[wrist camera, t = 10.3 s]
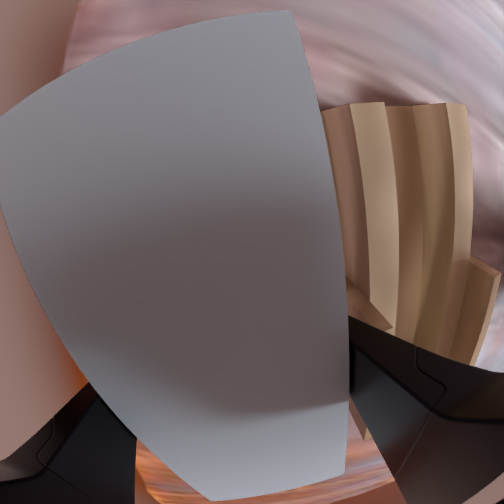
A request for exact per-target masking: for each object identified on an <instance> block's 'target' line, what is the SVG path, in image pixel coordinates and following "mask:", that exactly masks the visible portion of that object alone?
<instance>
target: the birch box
mask: <svg viewBox="0 0 504 504" xmlns="http://www.w3.org/2000/svg"><path fill="white" fill-rule="evenodd" d="M320 114H321V118H322V123H323V127H324V132H325V137H326V142H327V147H328V152H329V158H330V163H331V169H332V175H333V181H334V187H335V193H336V200H337V207H338V214H339V222H340V230H341V238H342V247H343V257H344V268H345V279H346V293H347V309H348V315H350V316H352V317H354V318H356V319H358V320H361V321H363V322H365V323H367V324H369V325H372V326H374V327H376V328H378V329H380V330H383V331H385V332H387V333H389V334H392V335H394V336H396V337H398V338H401V339H403V340H405V341H407V342H409V343H412V344H414V345H416V347H417V346H419V347H421V348H423V349H426V350H428V351H430V352H433V353H435V354H438V355H440V356H443V357H446V358H449V359H452V360H455V361H458V362H461V363H464V364H468V365H471V366H474V365H475V363H476V360H477V357H478V355H479V352H480V349H481V347H482V344H483V341H484V338H485V335H486V332H487V329H488V326H489V322H490V319H491V316H492V312H493V308H494V305H495V301H496V297H497V292H498V288H499V284H500V279H501V274H502V273H500V272H499V271H497V270H496V269H494V268H492V267H491V266H489V265H487V264H486V263H484V262H482V261H481V260H479V259H477V258H475V257H474V256H472V255H470V248H471V237H472V222H473V167H472V152H471V141H470V132H469V124H468V117H467V111H466V105H464V104H453V103H439V104H426V105H415V106H385V104H384V102H371V103H353V104H347V105H343V106H339V107H335V108H332V109H328V110H325V111H320ZM349 410H350V413H351V415H352V417H353V419H354V421H355V423H356V425H357V427H358V429H359V431H360V434H361V436H362V438H363V440H364V441H365V440H367V439H370V438H372V436H371V434H370V432H369V430H368V428H367V426H366V425H365V423H364V421H363V419H362V417H361V415H360V414H359V412H358V410H357V408H356V406H355V404H354V403H353V401H352V399H351V397H350V395H349Z"/></svg>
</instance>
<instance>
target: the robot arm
mask: <svg viewBox="0 0 504 504" xmlns="http://www.w3.org/2000/svg"><path fill="white" fill-rule="evenodd" d="M348 330H349V395H350V397H351V399H352V401H353V403H354V404H355V406H356V408H357V410H358V412H359V414H360V415H361V417H362V419H363V421H364V423H365V425H366V426H367V428H368V430H369V432H370V434H371V436H372V438H373V439H374V441H375V443H376V445H377V447H378V449H379V451H380V453H381V454H382V456H383V458H384V460H385V462H386V464H387V466H388V468H389V469H390V471H391V473H392V475H393V477H394V478H395V481H396V483H397V485H398V487H399V489H400V491H401V493H402V494H403V496H404V498H405V500H406V502H407V504H504V373H499V372H492V371H488V370H485V369H481V368H478V367H474V366H471V365H468V364H464V363H461V362H458V361H455V360H452V359H449V358H446V357H443V356H440V355H438V354H435V353H433V352H430V351H428V350H426V349H423V348H421V347H419V346H417V347H416V345H414V344H412V343H409V342H407V341H405V340H403V339H401V338H398V337H396V336H394V335H392V334H389V333H387V332H385V331H383V330H380V329H378V328H376V327H374V326H372V325H369V324H367V323H365V322H363V321H361V320H358V319H356V318H354V317H352V316H350V315H348ZM136 443H137V437H136V436H135V435H134V434H133V433H132V432H131V431H130V430H129V429H128V428H127V427H126V426H125V424H124V423H123V422H122V421H121V420H120V419H119V418H118V417H117V416H116V414H115V413H114V412H113V411H112V410H111V409H110V407H109V406H108V405H107V404H106V403H105V401H104V400H103V399H102V398H101V396H100V395H99V394H98V393H97V391H96V390H95V389H94V388H93V386H92V385H91V384H90V382H88V383H87V384H86V385H85V386H84V387H83V388H82V389H81V390H80V391H79V392H78V393H77V394H76V395H75V396H74V397H73V398H72V399H71V400H70V401H69V402H68V403H67V404H66V405H65V406H64V407H63V408H62V409H61V410H60V411H59V412H58V413H57V414H55V415H54V417H53V418H51V419H50V420H49V421H48V422H47V423H46V424H45V425H44V426H43V427H42V428H41V429H40V430H39V431H38V432H37V433H36V434H35V435H33V436H32V437H31V438H30V439H29V440H28V441H27V442H25V443H24V444H23V445H22V446H21V447H19V448H18V449H17V450H16V451H15V452H13V454H11V455H10V456H9V457H7V458H6V459H4V460H1V461H0V504H135V495H134V494H135V460H136Z"/></svg>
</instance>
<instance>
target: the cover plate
mask: <svg viewBox="0 0 504 504" xmlns="http://www.w3.org/2000/svg"><path fill="white" fill-rule="evenodd" d="M0 206H1V209H2V213H3V216H4V219H5V222H6V225H7V228H8V231H9V234H10V237H11V239H12V242H13V245H14V247H15V250H16V253H17V255H18V257H19V259H20V262H21V265H22V267H23V269H24V272H25V274H26V276H27V278H28V280H29V282H30V285H31V287H32V289H33V291H34V293H35V295H36V297H37V299H38V301H39V303H40V305H41V307H42V309H43V310H44V312H45V314H46V316H47V318H48V319H49V321H50V323H51V325H52V326H53V328H54V330H55V332H56V333H57V335H58V336H59V338H60V340H61V341H62V343H63V345H64V346H65V348H66V349H67V351H68V352H69V354H70V355H71V357H72V358H73V360H74V361H75V363H76V364H77V366H78V367H79V368H80V370H81V371H82V373H83V374H84V376H85V377H86V378H87V380H88V381H89V382H90V384H91V385H92V386H93V388H94V389H95V390H96V391H97V393H98V394H99V395H100V396H101V398H102V399H103V400H104V401H105V403H106V404H107V405H108V406H109V407H110V409H111V410H112V411H113V412H114V413H115V414H116V416H117V417H118V418H119V419H120V420H121V421H122V422H123V423H124V424H125V426H126V427H127V428H128V429H129V430H130V431H131V432H132V433H133V434H134V435H135V436H136V437H137V438H138V439H139V440H140V441H141V442H142V443H143V444H144V445H145V446H146V447H147V448H148V449H149V450H150V451H151V452H152V453H153V454H154V455H155V456H156V457H157V458H158V459H160V460H161V461H162V462H163V463H164V464H165V465H166V466H167V467H168V468H170V469H171V470H172V471H173V472H174V473H175V474H177V475H178V476H179V477H180V478H181V479H183V480H184V481H185V482H186V483H188V484H189V485H190V486H191V487H193V488H194V489H195V490H197V491H198V492H199V493H201V494H202V495H203V496H205V497H206V498H207V499H209V500H210V501H222V500H231V499H240V498H247V497H254V496H260V495H266V494H271V493H276V492H281V491H286V490H290V489H294V488H298V487H302V486H306V485H310V484H313V483H317V482H320V481H324V480H327V479H330V478H333V477H336V476H339V475H342V474H344V470H345V459H346V447H347V432H348V412H349V330H348V309H347V293H346V279H345V268H344V257H343V247H342V238H341V230H340V222H339V214H338V207H337V200H336V193H335V187H334V181H333V175H332V169H331V163H330V158H329V152H328V147H327V142H326V137H325V132H324V127H323V123H322V118H321V114H320V109H319V105H318V101H317V97H316V92H315V88H314V85H313V81H312V77H311V73H310V69H309V66H308V62H307V59H306V55H305V52H304V48H303V45H302V42H301V38H300V35H299V32H298V29H297V26H296V23H295V20H294V17H293V14H292V11H291V10H279V11H266V12H257V13H248V14H241V15H234V16H228V17H223V18H217V19H212V20H207V21H203V22H198V23H194V24H190V25H186V26H182V27H178V28H175V29H171V30H168V31H164V32H161V33H158V34H155V35H152V36H149V37H146V38H143V39H140V40H137V41H135V42H132V43H129V44H127V45H124V46H122V47H119V48H117V49H114V50H112V51H110V52H107V53H105V54H103V55H101V56H99V57H96V58H94V59H92V60H90V61H88V62H86V63H84V64H82V65H80V66H78V67H76V68H74V69H72V70H71V71H69V72H67V73H65V74H63V75H62V76H60V77H58V78H57V79H55V80H53V81H51V82H50V83H48V84H46V85H45V86H43V87H42V88H40V89H38V90H37V91H35V92H34V93H32V94H31V95H29V96H28V97H26V98H25V99H23V100H22V101H21V102H19V103H18V104H16V105H15V106H14V107H12V108H11V109H10V110H8V111H7V112H6V113H4V114H3V115H2V116H1V117H0Z"/></svg>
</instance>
